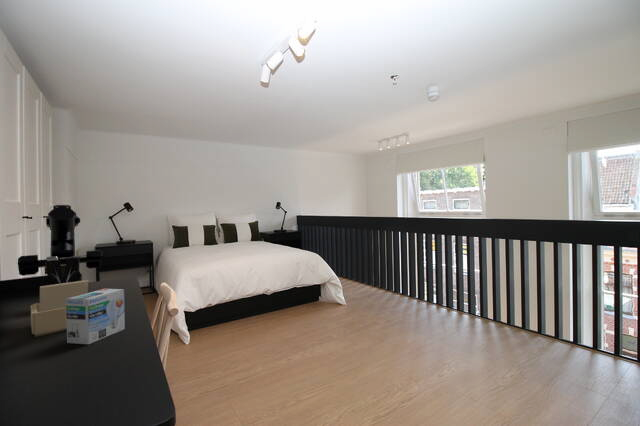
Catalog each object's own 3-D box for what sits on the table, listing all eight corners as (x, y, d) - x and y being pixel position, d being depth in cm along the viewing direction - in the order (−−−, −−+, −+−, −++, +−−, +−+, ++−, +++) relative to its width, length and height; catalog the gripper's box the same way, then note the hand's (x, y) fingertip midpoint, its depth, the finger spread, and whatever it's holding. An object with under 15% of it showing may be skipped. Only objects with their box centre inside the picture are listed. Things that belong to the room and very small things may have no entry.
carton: (30, 325, 87) (30, 304, 87) (85, 314, 95) (85, 295, 96) (32, 337, 77) (31, 313, 77) (93, 324, 86) (92, 302, 86)
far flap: (39, 286, 75) (40, 287, 75) (88, 279, 82) (88, 280, 82) (39, 310, 78) (39, 311, 78) (86, 302, 85) (86, 303, 85)
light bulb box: (88, 345, 71) (87, 299, 71) (65, 343, 73) (64, 298, 73) (126, 328, 82) (125, 288, 82) (105, 327, 83) (104, 287, 83)
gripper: (99, 257, 104) (102, 295, 95) (22, 263, 92) (19, 308, 83) (100, 235, 98) (104, 274, 89) (19, 238, 86) (15, 284, 77)
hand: (63, 285), depth 85 cm, fingers closed
